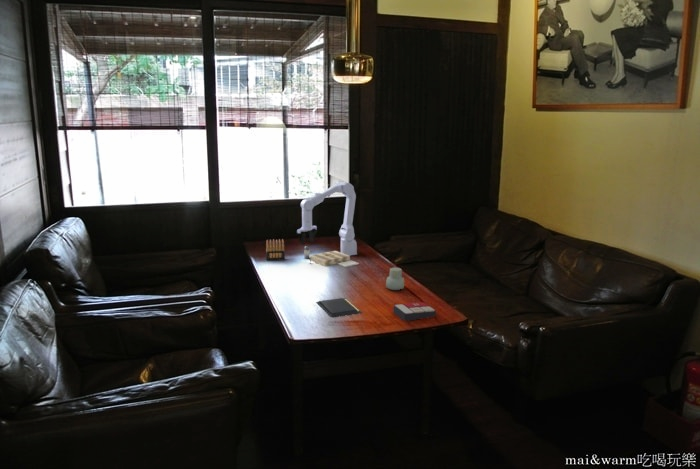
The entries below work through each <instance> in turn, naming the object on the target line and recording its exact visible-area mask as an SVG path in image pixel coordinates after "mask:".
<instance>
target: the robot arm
mask: <svg viewBox="0 0 700 469" xmlns="http://www.w3.org/2000/svg"><path fill="white" fill-rule="evenodd" d="M335 193H338V194H339V193H341V194H343V195H344V197H346V198H345V208H344V214H343V223H342V224H341V227H340V229H339V232H338V235H339V237H340V251H339V252H340V253H343V254H346V255H349V256H350V257H351V256H355V255H358V253H357V252H358V246H357V244H358V243H357V241H356V239H355V229H354V225H353V221H354V214H355V208H356V206H355V205H356V199H357V194H356V192H355V188H354V185H353V184H351V183H350V182H347V181H346V182H345V181H343V180H340V181H338V182H335V183H334V184H333V185H331V186H330V187H328V188H327V189H325V190H324V191H322V192H314V194H313V195H311V196H308V197H307V199H306V198H304V199H302V201H301V202H300V204H299V205H300V208H301V227H300V228H298V229H297V230H296V235H297V236H298V239H299V241H300V244H301V245H302V246H304V245H305V242H306V235H307V233H305V232H308V236H309V242H310V243H314V240H315V238H316V235H317V233H318V229H317V228H318V227H317V225H313V209H314V207H316V206H317V205H319V204H320V203H323V202H324V200H325V199H326V198H327V197H330V196H331V195H333V194H335Z"/></svg>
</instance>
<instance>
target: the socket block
mask: <svg viewBox="0 0 700 469" xmlns="http://www.w3.org/2000/svg"><path fill="white" fill-rule="evenodd" d="M340 252H341V251H338V250H331V251H326V252H321V253H317V254H312V255H311V254H310V258H309V261H311V262H313V263H316V264H318V265H320V266H324V267H326V266H327V267H328V266H331V265H332V266H333V265H338V263H342V262H346V261H351V258H350V257H351V256H349V255H346V254H343V253H340ZM327 255H333V256H332V257H328V256H327Z"/></svg>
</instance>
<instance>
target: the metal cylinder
mask: <svg viewBox="0 0 700 469" xmlns="http://www.w3.org/2000/svg"><path fill="white" fill-rule="evenodd" d="M303 248H304V249H303V250H304V251H303V252H304V254H303V255H304V256H303V257H304V259H305V260H308V259H309V260H310V255H311V254H310V245H308V246H307V245H305V246H304V247H303Z"/></svg>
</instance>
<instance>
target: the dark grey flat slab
mask: <svg viewBox="0 0 700 469" xmlns="http://www.w3.org/2000/svg"><path fill="white" fill-rule="evenodd" d="M315 303H316V304H317V305H318V307H320V308H321V309H322V310H323V311H324V312H325V313H326V314H327V315H328V316H329V317H330V318H339V316H340V317H346V316H345V315H347V316H353V315H352V314H354V315H358V313H360V314H363V312H362V310H361V309H359V308H357V307H356V306H355V305H354V304H353V303H352V302H351V301H349V299H347V298H346V297H345V298H343V297H339V298H332V299H324V300H318V301H316V302H315Z"/></svg>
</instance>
